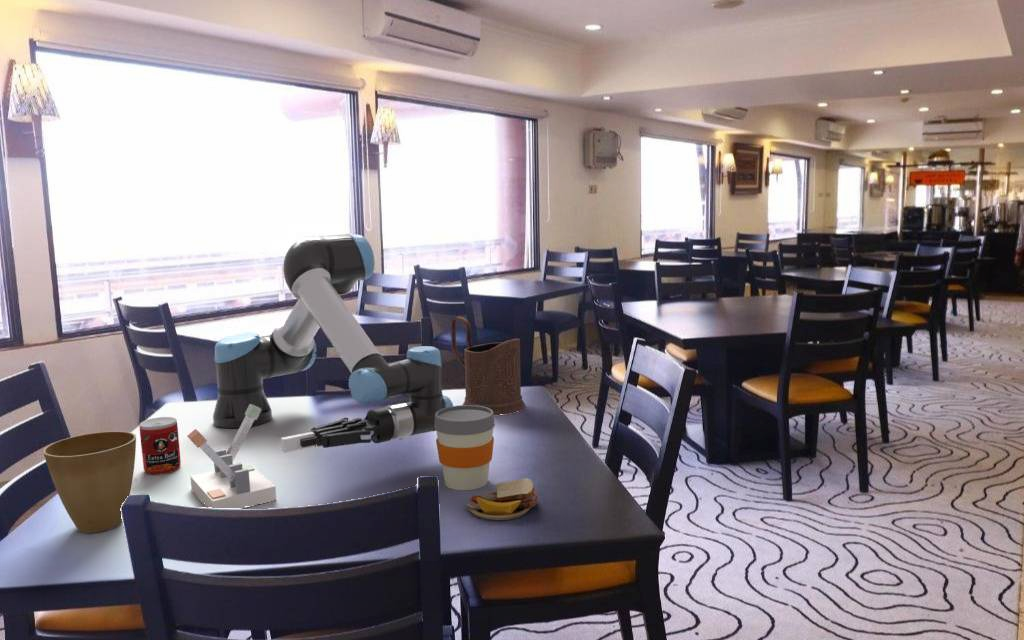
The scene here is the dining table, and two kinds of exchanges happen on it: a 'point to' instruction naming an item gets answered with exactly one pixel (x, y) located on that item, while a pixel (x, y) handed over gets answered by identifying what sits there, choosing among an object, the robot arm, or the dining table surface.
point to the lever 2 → (243, 429)
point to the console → (232, 486)
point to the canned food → (160, 445)
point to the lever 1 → (211, 454)
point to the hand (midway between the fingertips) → (282, 445)
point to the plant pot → (93, 476)
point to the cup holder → (491, 373)
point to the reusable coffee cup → (465, 445)
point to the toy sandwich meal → (505, 500)
